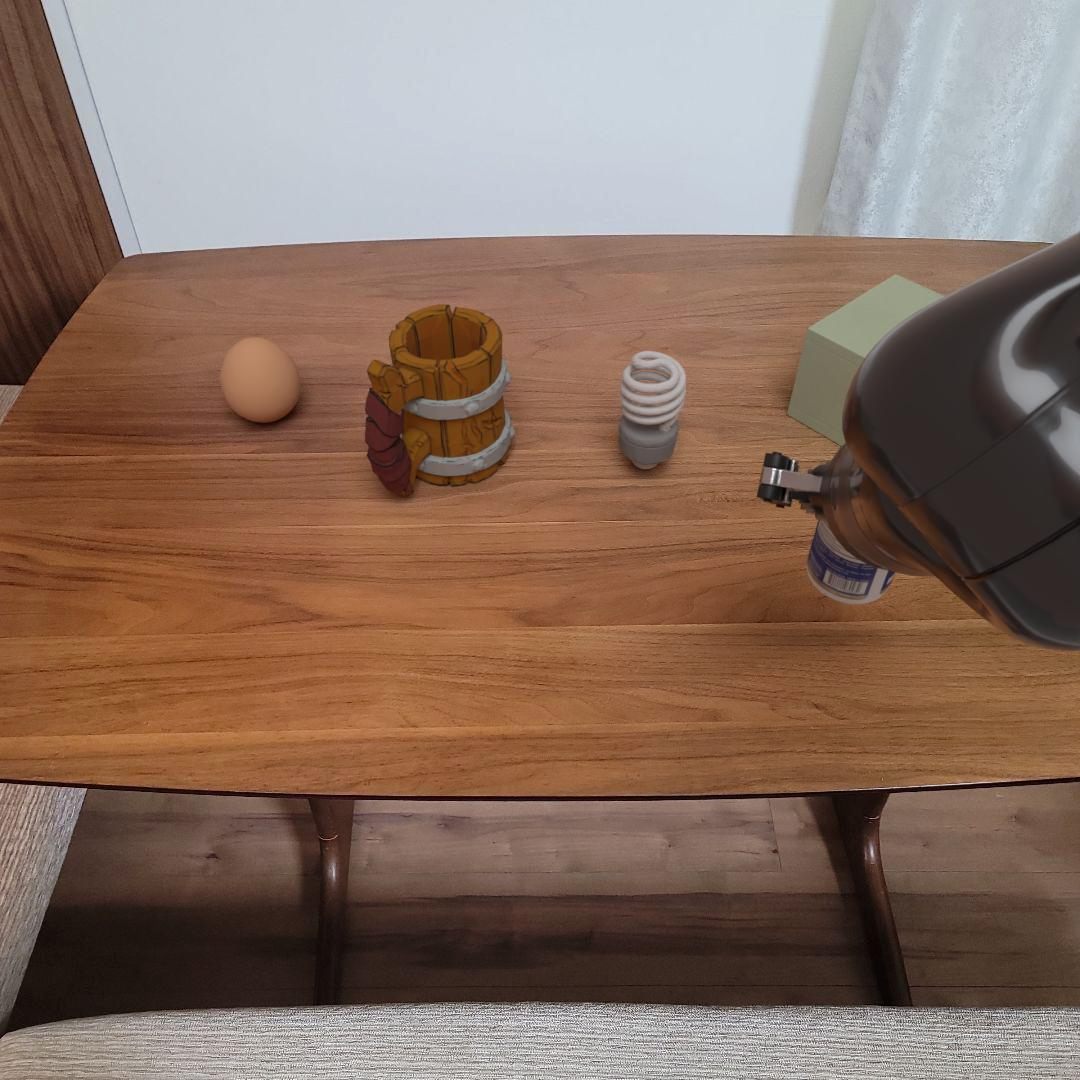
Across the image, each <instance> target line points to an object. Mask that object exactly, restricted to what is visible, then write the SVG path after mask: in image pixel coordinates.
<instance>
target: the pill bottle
mask: <svg viewBox="0 0 1080 1080" xmlns="http://www.w3.org/2000/svg"><path fill="white" fill-rule="evenodd" d="M805 569H806V573H807V576H808V579H809V580H810V582H811V583H812V585H813V587H815V588H816V590H818V591H819V592H820V593H821V594H823V595H824V596H826V597H828V598H830V599H831V600H833V601H837V602H839V603H842V604H849V605H863V604H869V603H872V602H875V601H877V600H878V599H881V597H883V596H884V595H885V594H886V593H887V592H888V590H889V589H890V587H891V585H892V582H893V581H894V577H895V575H896V573H897V572H892V571H887V570H883V569H879V568H876V567H873V566H870V565H868V564H866V563H864V562H862V561H860V560H859V559H857V558H855V557H854V556H853V555H851V554H850V553H849V552H848V551H847V550H845V549H844V548H843V547H842V545H841V544H840V543H839V542H838V541H837V539H836V538H835V536H834V535H833V533H832V531H831V530H830V528H829V526H828V523H827V521H822V520H817V524H816V528H815V530H814V533H813V537H812V541H811V544H810V548H809V551H808V556H807V559H806V567H805Z"/></svg>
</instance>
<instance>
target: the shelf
mask: <svg viewBox="0 0 1080 1080" xmlns="http://www.w3.org/2000/svg"><path fill="white" fill-rule="evenodd" d="M944 296H945V295H944V294H941V293H939V292H936V291H935V290H933V289H930V288H928V287H926V286H923V285H921V284H919V283H916V282H914V281H913V280H910V279H908V278H906V277H904V276H902V275H899V274H897V273H895V274H892V276H890V277H888V278H887V279H885V280H883V281H882V282H880V283H878V284H877V285H875V286H874V287H872V288H870V289H869V290H866V291H865V292H863V293H862V294H861V295H858V296H857V297H856V298H854V299H852V300H851V301H849V302H848V303H846V304H845V305H843V306H841V307H839V308H838V309H836V310H835V311H833V312H831V313H830V314H828V315H827V316H825V317H824V318H822V319H820V320H818V321H817V322H815V323H813V324H812V325H811V326H809V327H808V328H807V330H806V334H805V339H804V341H803V346H802V347H803V348H802V351H801V355H800V359H799V364H798V367H797V370H796V375H795V380H794V384H793V388H792V392H791V396H790V401H789V404H788V407H787V413H786V416H789V417H791V418H793V419H794V420H796V421H798V423H801V424H802V425H804V426H806V427H807V428H810V429H811V430H813V431H815V432H816V433H818V434H820V435H821V436H823V437H825V438H827V440H830V441H831V442H834V444H837V445H839V446H840V447H842V446H843V445H844V444H845V443H846V442H845V439H844V435H843V431H842V413H843V408H844V403H845V398H846V395H847V392H848V390H849V387H850V384H851V382H852V379H853V377H854V375H855V374H856V372H857V370H858V368H859V367H860V365H861V363H862V362H863V360H864V359H865V357H866V356H867V355H868V353H869V352H870V351H871V350H872V349H873V347H874V346H875V345H876V344H877V343H878V342H879V341H880V340H881V339H882V338H883V337H884V336H885V335H886V334H887V333H888V332H890V331H891V330H892V329H893V328H894V327H896V326H897V325H898V324H899V323H901V322H902V321H904V320H905V319H907V318H908V317H910V316H911V315H912V314H914V313H916V312H917V311H919V310H921V309H923V308H924V307H926V306H928V305H930V304H932V303H933V302H935V301H937V300H939V299H941V298H942V297H944Z"/></svg>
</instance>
